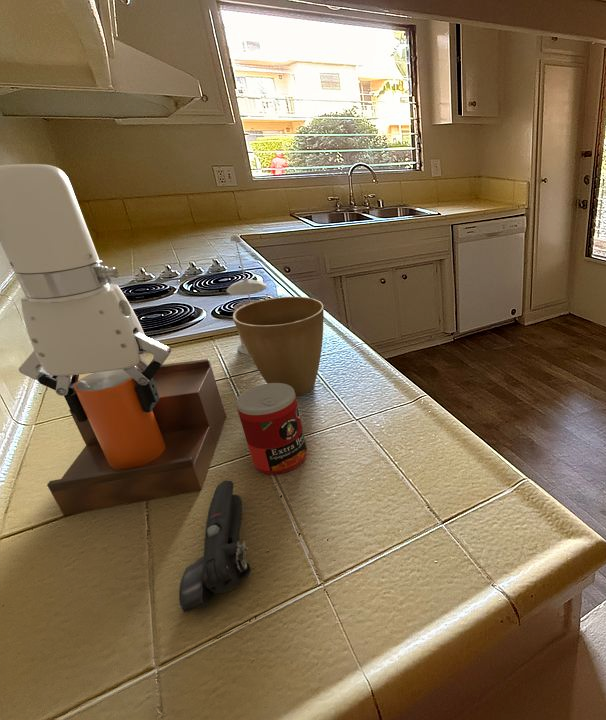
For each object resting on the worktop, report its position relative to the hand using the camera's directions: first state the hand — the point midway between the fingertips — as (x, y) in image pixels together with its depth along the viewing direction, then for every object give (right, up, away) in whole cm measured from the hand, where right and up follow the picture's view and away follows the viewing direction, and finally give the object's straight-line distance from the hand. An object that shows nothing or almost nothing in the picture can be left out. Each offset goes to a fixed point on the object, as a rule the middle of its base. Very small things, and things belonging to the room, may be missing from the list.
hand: (119, 410), depth 61 cm
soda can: (0, -6, +3) cm, 7 cm away
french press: (-2, +10, +45) cm, 46 cm away
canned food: (+18, -8, +9) cm, 21 cm away
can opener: (+18, -16, -6) cm, 25 cm away
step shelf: (-1, -8, +9) cm, 12 cm away
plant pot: (+12, +1, +28) cm, 30 cm away
